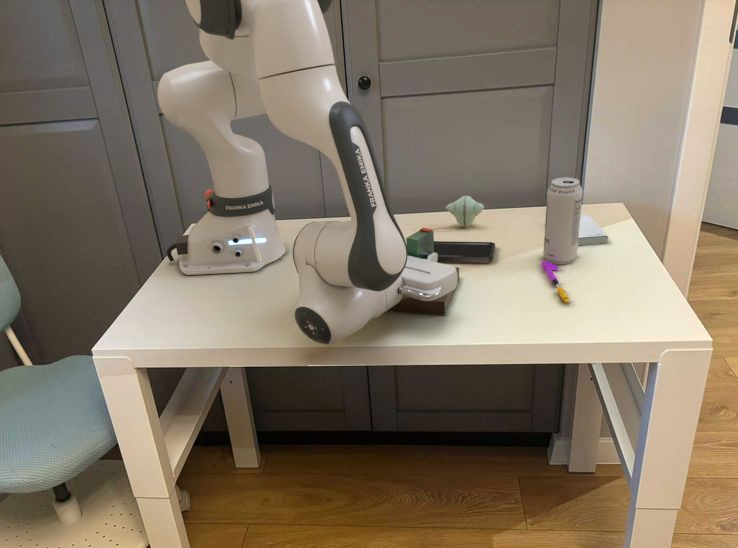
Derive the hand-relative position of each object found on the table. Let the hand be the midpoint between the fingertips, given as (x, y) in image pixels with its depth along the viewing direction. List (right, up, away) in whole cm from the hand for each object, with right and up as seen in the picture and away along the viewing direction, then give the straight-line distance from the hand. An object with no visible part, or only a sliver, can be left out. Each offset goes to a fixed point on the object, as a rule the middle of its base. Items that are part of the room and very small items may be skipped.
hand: (425, 254), depth 124 cm
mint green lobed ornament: (+13, +9, +28) cm, 33 cm away
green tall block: (-1, -5, +1) cm, 5 cm away
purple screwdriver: (+24, -5, +1) cm, 24 cm away
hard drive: (+34, +7, +20) cm, 40 cm away
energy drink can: (+27, 0, +10) cm, 29 cm away
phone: (+8, +2, +16) cm, 18 cm away
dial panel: (0, -7, +3) cm, 7 cm away
